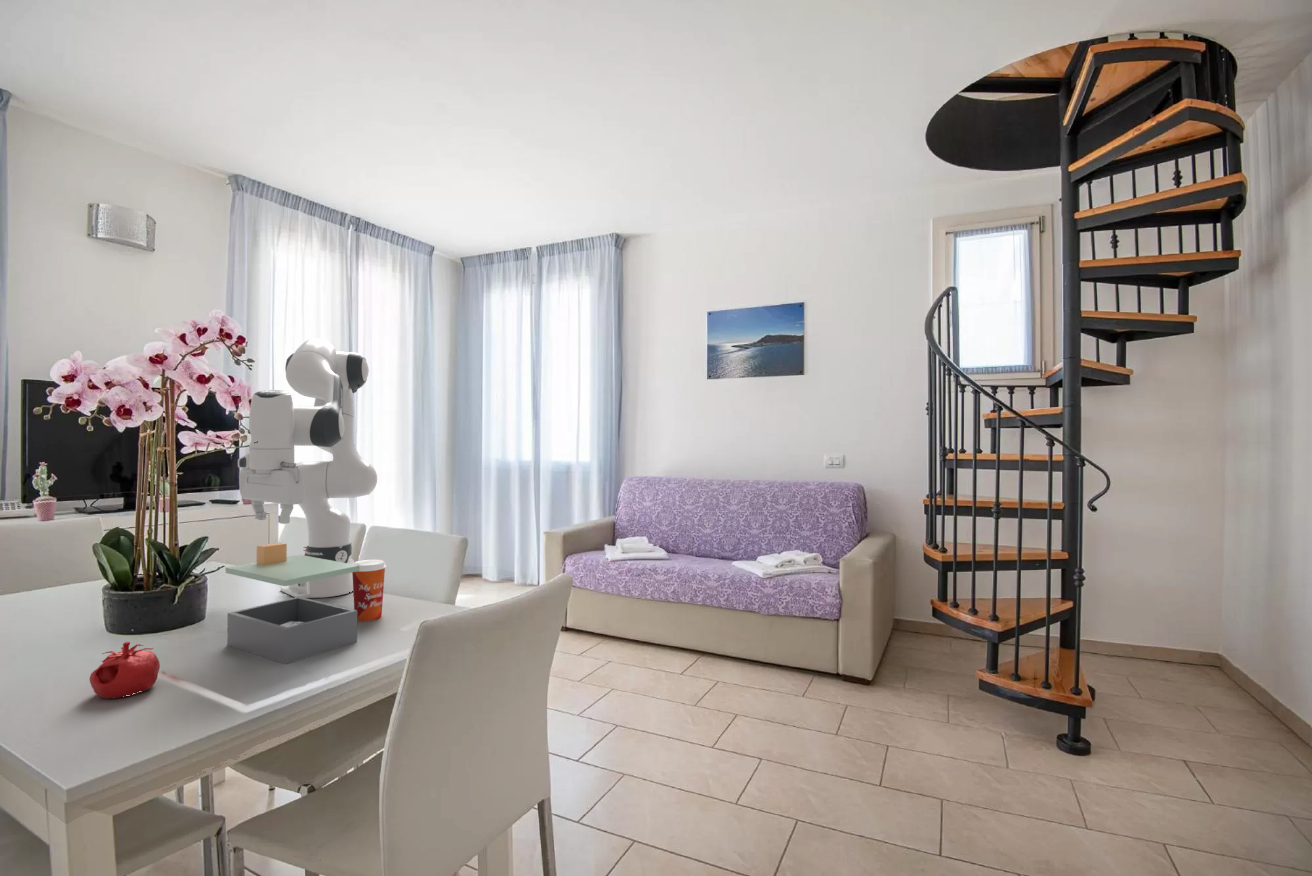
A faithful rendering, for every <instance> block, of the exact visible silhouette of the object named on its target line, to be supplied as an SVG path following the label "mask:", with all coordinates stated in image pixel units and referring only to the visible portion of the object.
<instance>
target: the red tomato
mask: <svg viewBox="0 0 1312 876" xmlns="http://www.w3.org/2000/svg"><path fill="white" fill-rule="evenodd" d="M130 645H131V642H130V641H125V642H124V643H123V644H122V647H120V649H121V651H118V652H116V651H113V650H110V651H106V652H102V653H101V654H102V655H103V654H109V655H108V656H107V657H105V658H104V659H103V660H101V662H102V664H100V665H99V666H98V667H97V668H96V669H95V670H93V671H92V672H91V674H90V676H89V683H90V685H91V688H92V691H93V693H94V694H96V695H97V696H99V697H101V698H103V697H105V698H104V699H110V698H112V699H114V698H113V697H122V698H124V697H123V696H126V695H132V694H133V693H137V692H139V691H144V690H146V691H147V689H148V690H150V689H152V687H153V686H154V685H155V683H156V681H157V680H158V675H159V672H160V668H161V664H160V661H159V658H158V656H157V655H156V653H154V652H153V651H151V650H153V649H155V647H152V648H149V647H145V648H141V649H138V650H137V649H136V648H137V647H142V646H144V644H139V643H137V644H135V645H134V646H131V647H130ZM144 692H145V691H144ZM137 694H138V693H137Z"/></svg>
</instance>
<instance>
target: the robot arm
mask: <svg viewBox="0 0 1312 876" xmlns="http://www.w3.org/2000/svg"><path fill="white" fill-rule="evenodd" d="M284 367H285V368H284V370H285V378H286V381H287V383H288V385H289V387H291V389H292V390H294V391H295V392H296V393H298V394H299V395H301V396H304V397H308V398H313V399H314V405H311V406H310V405H307V406H306V405H294V404H293V398H292V394H291V393H290V392H289V391H287V390H279V389H278V390H277V389H269V390H258V391H257V392H255V393H253V394H252V397H251V402H250V406H249V408H250V409H249V414H248V415H249V418H248V429H249V433H250V443H249V445H248V452H247V454H245V455H243V456H241V457H240V458H238V459H237V467H238V468H239V469H240V470H239V472H238V473H239V474H238V479H239V480H238V481H239V482H238V485H239V494H240V496H241V498H242V500H249V501H251V507H252V509H253V512H254V520H256V521H264V520H266V519H267V511H265V508H264V504H265V503H270V504H271V503H272V504H280V510H281V511H280V515H278V516H277V520H278V521H277V522H278V524H281V525H285V524H289V523H290V521H291V514H292V513H293V509H294V505H298V506H299V507H300V509H301V510H302V512H303V513H304V516H305V519H306V524H307V537H308V538H307V541H308V544H307V546H304V547H303V551H304V556H309V557H315V558H320V559H326V560H331V561H337V562H343V563H348V564H353V563H354V562H355V561H354V559H353V558H351V555H352V552H353V551H352V550H353V546H352V542H351V520H350V518H349V515H347V514H346V513H345V512H343V511H342V510H339V509H336V508H335V507H333V506H331V504H330V503H329V500H328V499H344V498H346V499H349V498H351V499H353V498H359V497H363V496H367V495H368V496H369V495H371V494H372V493H373V491H374V490H375V488H376V486H377V483H378V475H377V471H376V470H375V467H374V466H372V464H370V463H369V462H367V461H366V460H365V459H364V458H363V457H362V456H361V455H360V453H359V452H358V450H357V447H356V445H355V440H354V414H355V413H354V399H353V394H355V393H357V392H358V390H359V389H360V388H362V387H363V386H364V385H365V384H366V382H367V379H368V376H369V373H370V372H369V371H370V370H369V365H368V362H367V359H366V358H365V357H364V355H363V354H361V353H358V352H354V351H350V352H346V351H338V350H336V349H335V346H334V345H333V344H332V343H330V342H329V341H327V340H325V339H323V338H318V337H317V338H309V339H307V340H306V341H304V342H303V343H302V344H301V345H299V346H298V348H297V349H296V350H295V351H294V353H291V355H289V356H288V357H287V359H286V362H285V366H284ZM257 441H258V443H255V444H254V442H257ZM295 446H298V447H300V446H301V447H302V446H304V447H305V446H306V447H307V446H308V447H309V446H311V447H314V446H315V447H318V449H321V450H323V451H325V452H328V453H330V454H331V455H332V460H329V461H324V460H323V461H300V462H295ZM352 591H353V576H352V573H347V574H342V575H337V576H333V577H328V578H323V579H318V580H313V581H309V582H304V583H299V584H294V585H289V586H281V587H280V592H283V593H284V594H288V595H289V596H292V598H296V597H303V598H307V599H314V598H331V597H336V596H342V595H346V594H350V593H353V592H352ZM349 592H350V593H349Z"/></svg>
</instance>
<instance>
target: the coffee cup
mask: <svg viewBox="0 0 1312 876" xmlns="http://www.w3.org/2000/svg"><path fill="white" fill-rule="evenodd" d="M353 564H354V565H359V566H360V571H357V572H352V576H353V592H352V593H353V595H352V596H353V608H354V610H357V622H369V621H370V622H371V621H374V620H378V619H380V618H382V615H383V603H384V602H383V601H384V589H385V588H384V585H385V572H386V569H385V568H387V565H386V563H385V561H384V560H382V559H364V560H357V561H354V563H353Z"/></svg>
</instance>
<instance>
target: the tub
mask: <svg viewBox="0 0 1312 876" xmlns="http://www.w3.org/2000/svg"><path fill="white" fill-rule="evenodd" d="M290 621H294V622H306V623H302V624H299V625H295V626H291V627H284V626H280V625H282V624H285V623H287V622H290ZM226 623H227V628H226V629H227V631H226V632H227V636H226V637H227V642H226V644H227V646H229V647H232V648H234V649H235V648H236V649H238V650H241V651H245V652H246V653H251V654H254V655H256V656H259V657H262V658H265V659H268V660H272V661H274V662H277V663H280V664H283V665H287V664H290V663H294V662H297V661H301V660H303V659H306V658H309V657H313V656H315V655H320V654H322V653H325V652H326V653H327V652H328V651H331V650H336V649H338V648H341V647H344V646H348V645H350V644H355V643H357V642H358V620H357V610H354V609H352V608H349V607H345V606H341V605H336V604H332V603H327V602H323V601H320V600H314V599H312V598H303V597H296V598H295V597H292V598H287V599H284V600H280V601H275V602H271V603H270V602H269V603H266V604H262V605H257V606H252V607H248V608H244V609H239V610H235V611H230V612H227V622H226Z"/></svg>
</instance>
